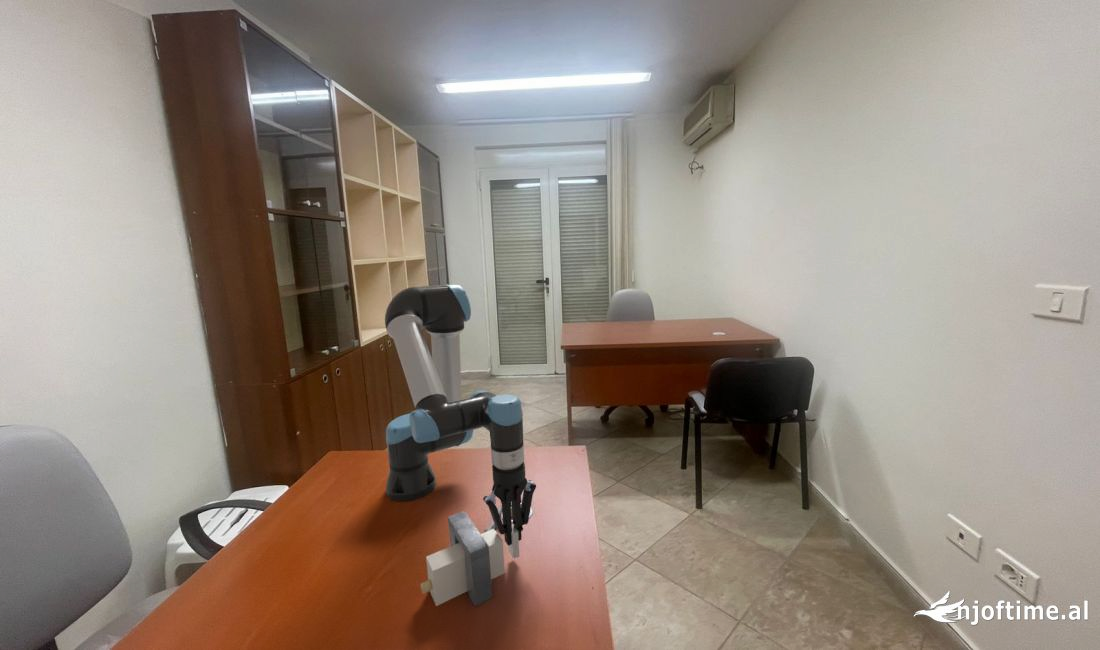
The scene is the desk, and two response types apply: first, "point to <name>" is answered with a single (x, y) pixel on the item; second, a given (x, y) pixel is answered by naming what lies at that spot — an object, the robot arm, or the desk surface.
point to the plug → (458, 568)
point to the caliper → (492, 525)
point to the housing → (472, 556)
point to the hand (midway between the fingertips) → (514, 553)
